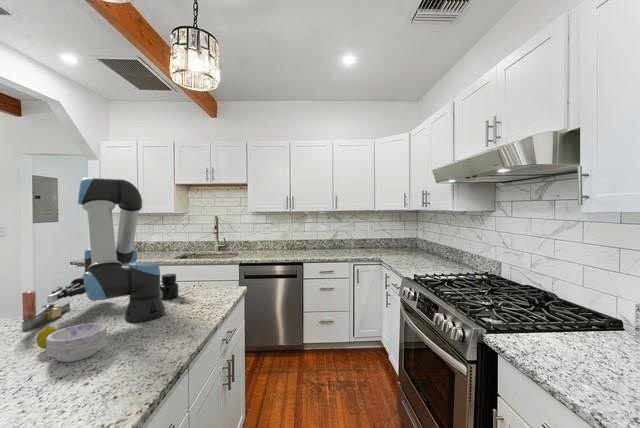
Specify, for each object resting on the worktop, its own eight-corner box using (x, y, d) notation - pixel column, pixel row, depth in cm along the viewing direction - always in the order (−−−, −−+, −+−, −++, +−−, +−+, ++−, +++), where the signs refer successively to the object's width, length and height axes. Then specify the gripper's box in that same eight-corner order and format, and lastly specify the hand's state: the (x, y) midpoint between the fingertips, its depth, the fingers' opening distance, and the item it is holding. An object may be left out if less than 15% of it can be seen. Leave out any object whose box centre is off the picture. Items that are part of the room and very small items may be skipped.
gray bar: (73, 308, 142) (73, 299, 142) (35, 328, 118) (35, 318, 118) (58, 309, 141) (58, 300, 141) (17, 329, 117) (17, 319, 117)
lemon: (33, 351, 99) (32, 327, 99) (53, 344, 105) (52, 321, 104) (42, 355, 97) (42, 330, 97) (63, 347, 102) (62, 324, 102)
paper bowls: (97, 340, 108) (96, 318, 108) (114, 352, 99) (114, 328, 99) (40, 357, 96) (39, 333, 95) (54, 373, 87) (53, 345, 86)
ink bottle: (164, 295, 163) (163, 273, 163) (181, 294, 164) (180, 272, 164) (156, 300, 154) (156, 277, 153) (174, 300, 155) (174, 277, 154)
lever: (34, 322, 114) (33, 292, 114) (20, 323, 112) (19, 294, 112) (55, 306, 132) (55, 281, 132) (44, 307, 131) (43, 281, 130)
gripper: (99, 291, 143) (68, 307, 120) (67, 293, 140) (30, 310, 117) (98, 275, 143) (68, 289, 120) (67, 277, 140) (29, 290, 117)
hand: (49, 299), depth 119 cm, fingers closed
